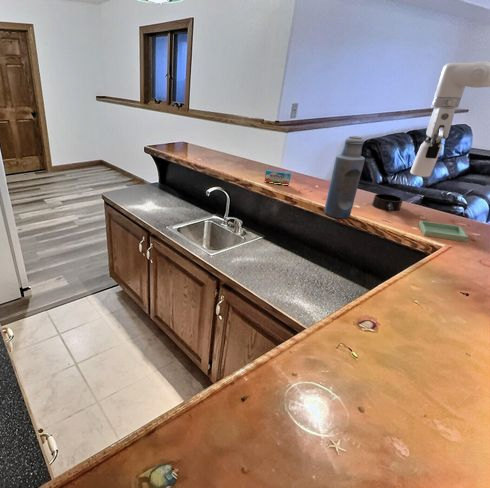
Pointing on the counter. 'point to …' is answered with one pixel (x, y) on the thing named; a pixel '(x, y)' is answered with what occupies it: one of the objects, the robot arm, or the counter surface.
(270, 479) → the counter surface
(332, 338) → the counter surface
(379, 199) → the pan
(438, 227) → the tray
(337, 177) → the bottle
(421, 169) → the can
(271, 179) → the teal printed box
